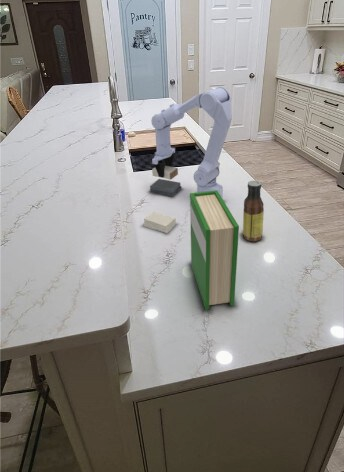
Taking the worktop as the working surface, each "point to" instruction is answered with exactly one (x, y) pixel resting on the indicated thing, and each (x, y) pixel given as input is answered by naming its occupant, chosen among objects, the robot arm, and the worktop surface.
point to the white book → (167, 172)
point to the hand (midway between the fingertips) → (165, 174)
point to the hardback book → (213, 247)
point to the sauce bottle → (253, 213)
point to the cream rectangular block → (159, 222)
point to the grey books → (165, 187)
